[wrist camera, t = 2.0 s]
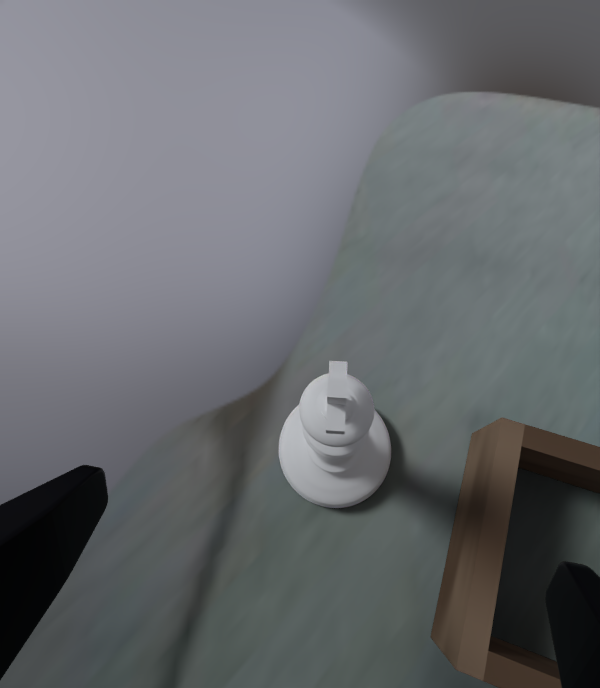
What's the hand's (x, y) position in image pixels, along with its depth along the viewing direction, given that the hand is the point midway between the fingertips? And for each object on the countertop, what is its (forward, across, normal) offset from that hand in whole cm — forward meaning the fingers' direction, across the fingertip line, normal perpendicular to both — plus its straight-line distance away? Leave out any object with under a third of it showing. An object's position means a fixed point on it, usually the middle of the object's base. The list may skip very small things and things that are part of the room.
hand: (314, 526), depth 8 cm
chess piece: (+9, 0, +5) cm, 11 cm away
